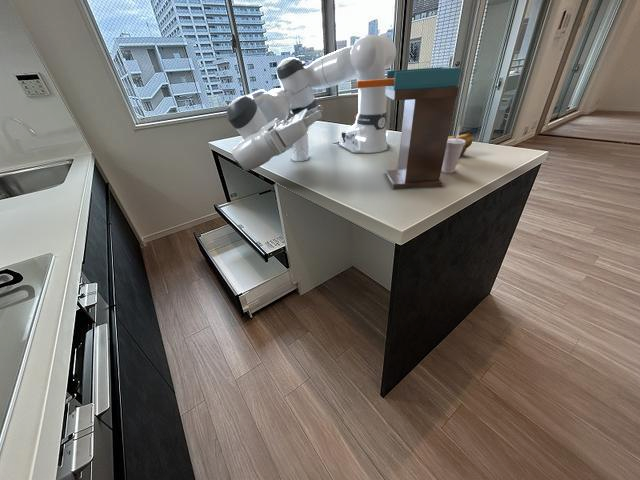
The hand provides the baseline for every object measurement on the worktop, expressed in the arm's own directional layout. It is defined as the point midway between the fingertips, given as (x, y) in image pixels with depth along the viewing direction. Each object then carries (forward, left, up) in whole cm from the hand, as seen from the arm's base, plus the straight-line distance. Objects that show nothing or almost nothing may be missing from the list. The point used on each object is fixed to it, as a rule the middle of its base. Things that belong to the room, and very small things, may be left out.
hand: (321, 110), depth 72 cm
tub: (+15, +21, +4) cm, 26 cm away
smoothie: (+18, +37, -22) cm, 46 cm away
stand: (+15, +21, -21) cm, 33 cm away
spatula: (+11, +16, +5) cm, 20 cm away
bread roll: (+8, +51, -22) cm, 56 cm away
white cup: (-29, +7, -22) cm, 37 cm away
